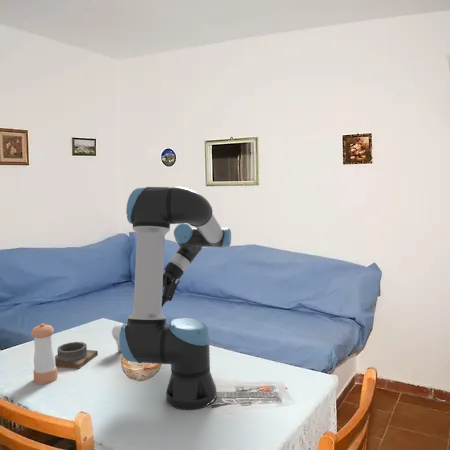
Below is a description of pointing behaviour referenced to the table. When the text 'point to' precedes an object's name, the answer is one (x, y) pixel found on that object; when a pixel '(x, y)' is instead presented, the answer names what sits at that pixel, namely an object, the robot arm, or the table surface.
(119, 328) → the lightbulb
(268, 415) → the table surface
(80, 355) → the grey bowl on board
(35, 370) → the salt shaker
